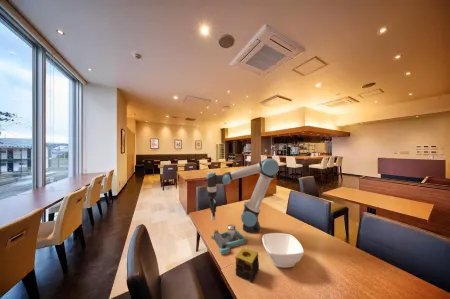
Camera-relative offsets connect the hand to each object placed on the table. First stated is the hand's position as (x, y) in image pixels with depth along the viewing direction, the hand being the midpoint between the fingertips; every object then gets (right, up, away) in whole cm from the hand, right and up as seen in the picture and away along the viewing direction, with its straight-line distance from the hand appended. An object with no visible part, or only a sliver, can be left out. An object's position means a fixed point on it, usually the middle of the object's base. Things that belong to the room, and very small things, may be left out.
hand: (213, 219), depth 128 cm
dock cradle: (+13, -11, -13) cm, 21 cm away
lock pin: (+6, -11, -16) cm, 20 cm away
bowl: (+44, -10, -35) cm, 57 cm away
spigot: (+15, -10, -11) cm, 21 cm away
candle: (+22, -10, -43) cm, 49 cm away
